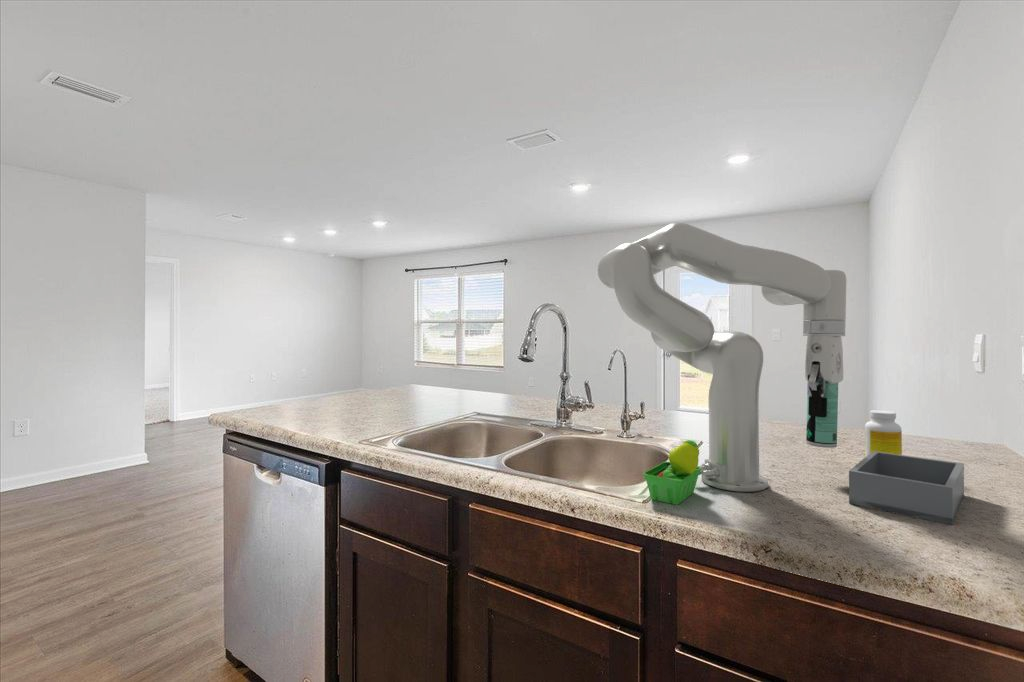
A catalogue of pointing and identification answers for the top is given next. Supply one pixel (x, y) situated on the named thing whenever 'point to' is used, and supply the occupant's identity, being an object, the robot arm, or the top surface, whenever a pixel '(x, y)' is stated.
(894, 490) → the bin
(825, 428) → the spray can
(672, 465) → the fruit basket
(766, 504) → the top surface
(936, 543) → the top surface
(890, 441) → the supplement bottle
